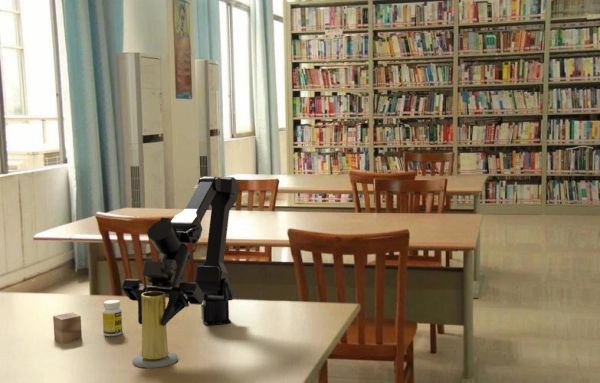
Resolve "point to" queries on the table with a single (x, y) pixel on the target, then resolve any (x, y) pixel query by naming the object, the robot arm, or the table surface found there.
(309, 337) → the table surface
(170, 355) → the mat
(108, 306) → the supplement bottle
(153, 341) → the vase
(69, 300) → the table surface
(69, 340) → the walnut block
